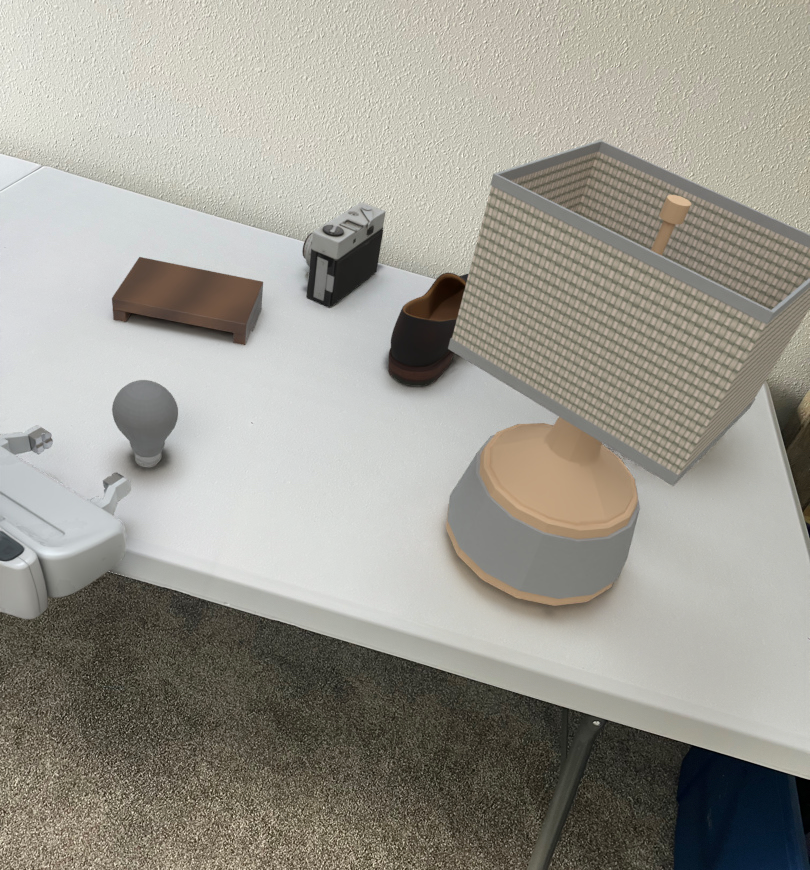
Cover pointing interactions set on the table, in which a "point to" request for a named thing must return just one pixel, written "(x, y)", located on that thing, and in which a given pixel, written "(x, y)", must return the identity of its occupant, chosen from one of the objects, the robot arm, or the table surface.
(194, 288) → the shelf
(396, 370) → the loafer
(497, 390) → the table surface
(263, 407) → the table surface
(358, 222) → the camera
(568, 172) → the desk lamp
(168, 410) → the light bulb
